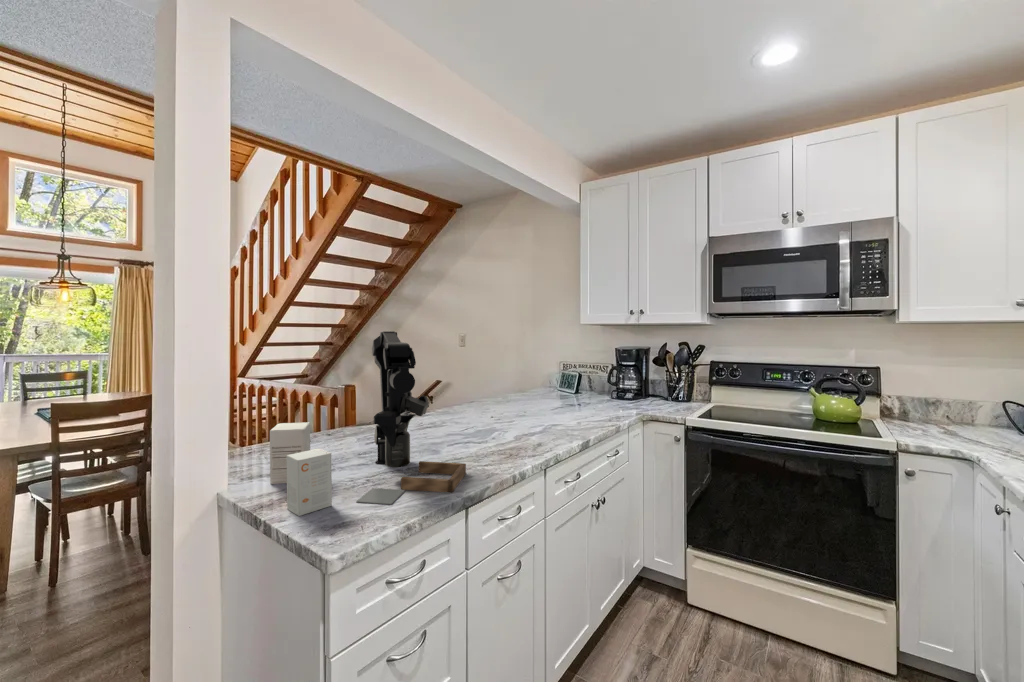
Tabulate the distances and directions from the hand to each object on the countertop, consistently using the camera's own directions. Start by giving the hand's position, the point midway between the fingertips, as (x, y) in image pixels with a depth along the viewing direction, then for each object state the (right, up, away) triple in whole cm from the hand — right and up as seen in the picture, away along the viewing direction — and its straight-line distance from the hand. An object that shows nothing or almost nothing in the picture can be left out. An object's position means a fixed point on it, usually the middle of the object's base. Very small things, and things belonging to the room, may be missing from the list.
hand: (397, 443), depth 125 cm
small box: (-16, -11, -20) cm, 28 cm away
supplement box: (-30, -10, 0) cm, 32 cm away
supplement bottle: (0, -6, 0) cm, 6 cm away
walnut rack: (+11, -10, -1) cm, 15 cm away
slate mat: (-1, -11, -13) cm, 17 cm away
